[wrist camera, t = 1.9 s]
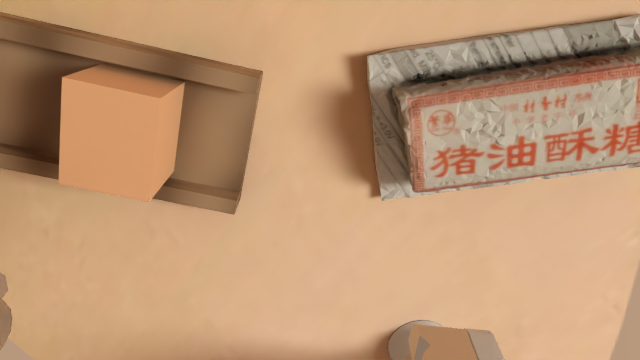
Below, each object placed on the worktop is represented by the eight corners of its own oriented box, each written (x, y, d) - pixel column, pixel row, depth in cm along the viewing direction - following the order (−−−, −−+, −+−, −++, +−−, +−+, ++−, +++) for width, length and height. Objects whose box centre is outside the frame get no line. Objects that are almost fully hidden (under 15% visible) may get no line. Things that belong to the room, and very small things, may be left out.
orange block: (96, 155, 31) (58, 183, 27) (102, 63, 29) (61, 77, 25) (173, 171, 32) (149, 201, 27) (184, 81, 30) (160, 98, 25)
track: (-155, 119, 31) (-193, 129, 29) (-174, -28, 28) (-218, -29, 26) (240, 199, 34) (234, 214, 31) (263, 71, 30) (258, 77, 28)
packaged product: (713, 11, 25) (687, 186, 29) (653, 8, 30) (637, 160, 33) (370, 62, 26) (387, 225, 30) (362, 51, 31) (378, 194, 34)
